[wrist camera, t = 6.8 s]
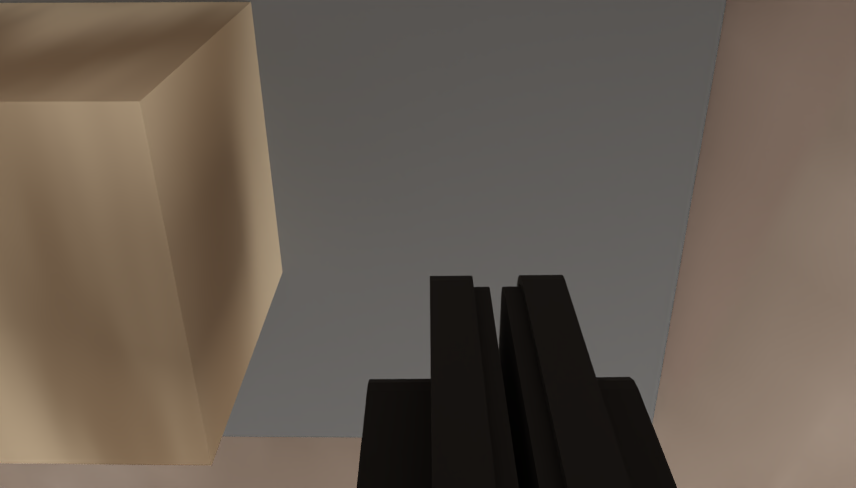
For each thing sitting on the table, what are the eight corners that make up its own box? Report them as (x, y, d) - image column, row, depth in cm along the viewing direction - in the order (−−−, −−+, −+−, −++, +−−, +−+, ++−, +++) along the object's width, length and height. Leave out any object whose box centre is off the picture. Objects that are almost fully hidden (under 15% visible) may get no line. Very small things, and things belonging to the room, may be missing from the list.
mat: (774, -326, 12) (783, -330, 12) (645, 428, 20) (648, 439, 20) (-669, -306, 13) (-700, -310, 12) (-251, 421, 20) (-263, 432, 20)
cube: (140, 101, 9) (-351, 102, 9) (211, 465, 12) (-165, 462, 12) (250, 1, 14) (-64, 3, 15) (282, 271, 17) (18, 271, 18)
